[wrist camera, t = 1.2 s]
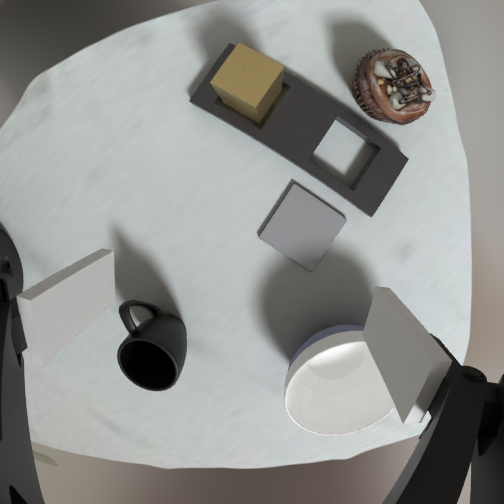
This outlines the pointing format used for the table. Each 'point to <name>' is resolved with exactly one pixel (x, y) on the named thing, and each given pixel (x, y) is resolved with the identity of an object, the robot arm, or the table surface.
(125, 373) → the mug
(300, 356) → the bowl
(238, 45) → the tan wooden peg
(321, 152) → the table surface
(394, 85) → the cupcake
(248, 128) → the dark grey peg board
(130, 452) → the table surface
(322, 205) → the pad
